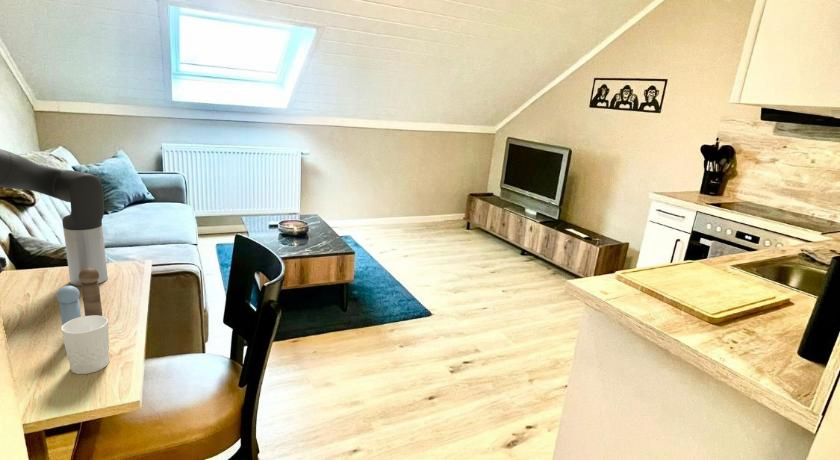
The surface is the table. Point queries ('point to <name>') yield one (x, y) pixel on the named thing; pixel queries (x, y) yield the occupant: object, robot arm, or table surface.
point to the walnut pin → (90, 291)
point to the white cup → (86, 343)
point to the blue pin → (69, 303)
